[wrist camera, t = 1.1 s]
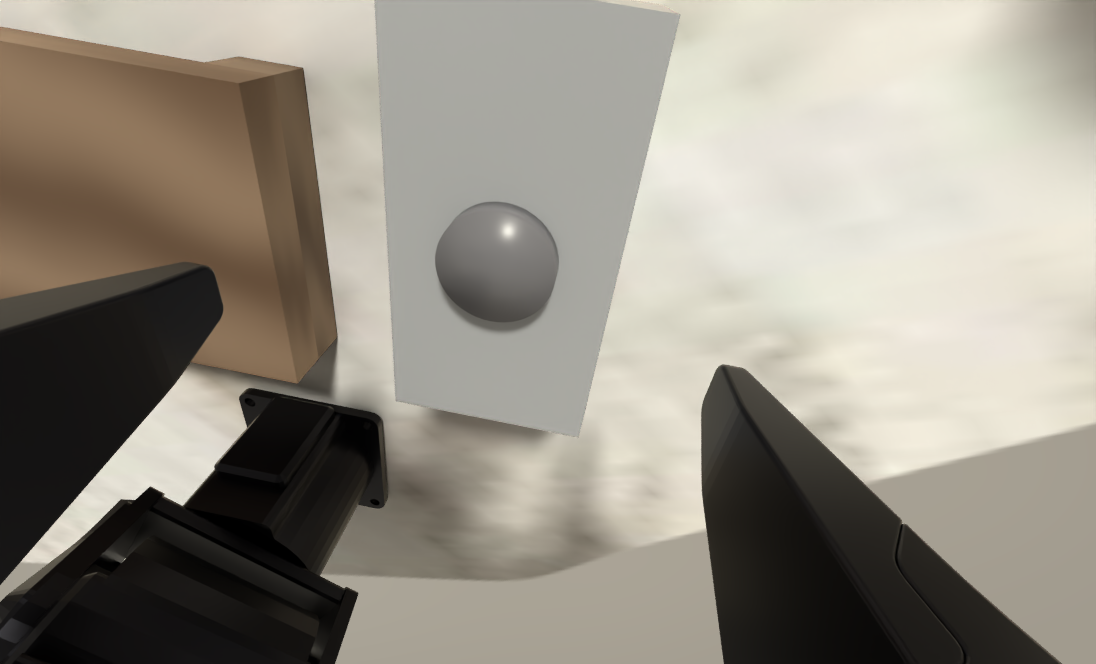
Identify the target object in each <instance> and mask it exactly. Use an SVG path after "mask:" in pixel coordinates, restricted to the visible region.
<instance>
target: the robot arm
mask: <svg viewBox="0 0 1096 664" xmlns="http://www.w3.org/2000/svg"><path fill="white" fill-rule="evenodd" d="M223 307H224V306H223V302H222V298H221V294H220V291H219V287H218V283H217V279H216V276H215V273H214V271H213V270H212V269H211V268H210V267H209V266H207V265H202V264H197V263H192V262H179V263H174V264H169V265H164V266H159V267H154V268H150V269H145V270H140V271H135V272H130V273H125V274H120V275H116V276H111V277H106V278H101V279H96V280H91V281H86V282H81V283H77V284H72V285H67V286H62V287H57V288H52V289H47V290H42V291H38V292H33V293H28V294H23V295H18V296H13V297H8V298H4V299H0V585H1V583H2V582H3V581H4V580H5V579H6V578H7V577H8V575H9V574H10V573H11V572H12V571H13V570H14V569H15V567H16V566H17V565H18V564H19V563H20V562H21V561H22V559H23V558H24V557H25V556H26V555H27V554H28V553H29V551H30V550H31V549H32V548H33V547H34V546H35V545H36V543H37V542H38V541H39V540H40V539H41V538H42V536H43V535H44V534H45V533H46V532H47V531H48V530H49V528H50V527H51V526H52V525H53V524H54V523H55V522H56V520H57V519H58V518H59V517H60V516H61V515H62V514H63V512H64V511H65V510H66V509H67V508H68V507H69V505H70V504H71V503H72V502H73V501H74V500H75V499H76V497H77V496H78V495H79V494H80V493H81V492H82V491H83V489H84V488H85V487H86V486H87V485H88V484H89V483H90V481H91V480H92V479H93V478H94V477H95V476H96V474H97V473H98V472H99V471H100V470H101V469H102V468H103V466H104V465H105V464H106V463H107V462H108V461H109V460H110V458H111V457H112V456H113V455H114V454H115V453H116V452H117V450H118V449H119V448H120V447H121V446H122V445H123V443H124V442H125V441H126V440H127V439H128V438H129V437H130V435H131V434H132V433H133V432H134V431H135V430H136V429H137V427H138V426H139V425H140V424H141V423H142V422H143V421H144V419H145V418H146V417H147V416H148V415H149V414H150V412H151V411H152V410H153V409H154V408H155V407H156V406H157V404H158V403H159V402H160V401H161V400H162V399H163V398H164V396H165V395H166V394H167V393H168V392H169V390H170V389H171V388H172V387H173V386H174V384H175V383H176V382H177V380H178V379H179V378H180V376H181V375H182V374H183V372H184V371H185V369H186V368H187V366H188V365H189V364H190V362H191V361H192V359H193V358H194V357H195V355H196V354H197V352H198V351H199V349H200V348H201V347H202V345H203V344H204V342H205V341H206V339H207V338H208V337H209V335H210V334H211V332H212V331H213V329H214V328H215V327H216V325H217V324H218V322H219V321H220V319H221V317H222V315H223ZM239 401H240V404H241V408H242V411H243V414H244V418H245V421H246V425H247V429H246V430H245V431H244V432H243V433H242V434H241V435H240V437H239V438H238V439H237V440H236V441H235V442H234V443H233V444H232V446H231V447H230V448H229V449H228V450H227V451H226V452H225V454H224V455H223V456H222V457H221V458H220V459H219V460H218V462H217V463H216V464H215V466H214V467H215V470H214V471H213V472H212V473H211V474H210V475H209V476H208V478H207V479H206V480H205V481H204V482H203V483H202V484H201V486H200V487H199V488H198V489H197V490H196V491H195V492H194V494H193V495H192V496H191V497H190V498H189V499H188V500H187V502H186V503H185V504H184V505H183V506H181V505H180V504H178V503H176V502H174V501H172V500H170V499H168V498H166V497H164V495H165V494H164V493H162V492H160V491H158V490H156V489H155V488H153V487H149V488H148V489H147V490H146V491H145V492H144V493H143V494H141V495H140V496H139V497H138V498H137V499H136V500H122V499H121V500H120V501H119V502H118V503H117V504H116V505H115V506H114V507H113V508H112V509H111V510H110V511H109V512H108V513H107V514H106V515H105V516H104V517H103V518H102V519H101V520H100V521H99V522H98V523H97V524H96V525H95V526H94V527H93V528H92V529H91V530H90V531H88V532H87V533H86V534H85V535H84V536H83V537H82V538H81V539H80V540H78V541H77V542H76V543H75V544H73V545H72V546H71V547H70V548H68V549H67V550H66V551H64V552H63V553H62V554H60V555H59V556H58V557H57V558H55V559H54V560H53V561H51V562H50V563H49V564H47V565H46V566H45V567H44V568H42V569H41V570H40V571H38V572H37V573H36V574H34V575H33V576H32V577H30V578H29V579H28V580H26V581H25V582H24V583H22V584H21V585H20V586H19V587H17V588H16V589H15V590H13V591H12V592H11V593H9V594H8V595H7V596H6V597H5V598H4V599H3V600H2V601H1V602H0V664H335V661H336V659H337V656H338V653H339V650H340V647H341V644H342V641H343V638H344V635H345V632H346V629H347V626H348V623H349V620H350V617H351V614H352V611H353V608H354V605H355V602H356V599H357V596H358V592H356V591H354V590H352V589H350V588H348V587H346V588H342V587H340V586H338V585H336V584H334V583H332V582H330V581H328V580H326V579H325V578H322V577H321V576H320V574H321V573H322V571H323V569H324V567H325V565H326V563H327V561H328V559H329V558H330V556H331V554H332V552H333V550H334V548H335V546H336V545H337V543H338V541H339V539H340V537H341V535H342V533H343V531H344V530H345V528H346V526H347V524H348V522H349V520H350V518H351V517H352V515H353V513H354V511H355V509H356V507H357V505H363V506H368V507H372V508H382V507H384V505H385V503H386V501H387V498H388V496H387V483H386V470H385V456H384V443H383V429H382V421H381V418H380V417H379V416H378V415H376V414H375V413H372V412H368V411H363V410H358V409H353V408H348V407H343V406H338V405H333V404H328V403H323V402H318V401H313V400H308V399H303V398H298V397H293V396H288V395H284V394H279V393H274V392H269V391H264V390H259V389H254V388H249V389H246V390H245V391H244V392H243V393H242V394H241V396H240V397H239ZM701 472H702V496H703V506H704V513H705V521H706V529H707V537H708V544H709V551H710V559H711V567H712V575H713V583H714V591H715V597H716V598H715V599H716V606H717V614H718V622H719V629H720V637H721V645H722V652H723V660H724V664H1062V663H1061V662H1059V661H1058V660H1057V659H1056V658H1055V657H1053V656H1052V655H1051V654H1050V653H1049V652H1048V651H1046V650H1045V649H1044V648H1043V647H1042V646H1041V645H1040V644H1038V643H1037V642H1036V641H1035V640H1034V639H1033V638H1031V637H1030V636H1029V635H1028V634H1027V633H1026V632H1024V631H1023V630H1022V629H1021V628H1020V627H1019V626H1017V625H1016V624H1015V623H1014V622H1013V621H1012V620H1010V619H1009V618H1008V617H1007V616H1006V615H1005V614H1003V612H1001V611H1000V610H999V609H998V608H997V607H996V606H994V605H993V604H992V603H991V602H990V601H989V600H988V599H987V598H985V597H984V596H983V595H982V594H981V593H980V592H979V591H977V590H976V589H975V588H974V587H973V586H972V585H971V584H969V583H968V582H967V581H966V580H965V579H964V578H963V577H962V576H961V575H960V574H959V573H957V572H956V571H955V570H954V569H953V568H952V567H951V566H950V565H949V564H948V563H947V562H946V561H945V560H943V559H942V558H941V557H940V556H939V555H938V554H937V553H936V552H935V551H934V550H933V549H932V548H931V547H930V546H929V545H927V543H925V542H924V541H923V540H922V539H921V538H920V537H919V536H918V535H917V534H916V533H915V532H914V531H913V530H912V529H911V528H910V527H909V526H908V525H906V524H902V520H901V519H900V518H899V517H898V516H897V515H896V514H895V513H894V512H893V511H892V510H891V509H890V508H889V507H888V506H887V505H886V504H885V503H884V502H883V501H882V500H881V499H879V497H878V496H877V495H876V494H875V493H873V492H872V491H871V490H870V489H869V488H868V487H867V486H866V485H865V484H864V483H863V482H862V481H861V480H860V479H859V478H858V477H857V476H856V475H855V474H854V473H853V472H852V471H851V470H850V469H849V468H848V467H846V466H845V465H844V464H843V463H842V462H841V461H840V460H839V459H838V458H837V457H836V456H835V455H834V454H833V453H832V452H831V451H830V450H829V449H828V448H827V447H826V446H825V445H824V444H823V443H822V442H821V441H820V440H818V439H817V438H816V437H815V436H814V435H813V434H812V433H811V432H810V431H809V430H808V429H807V428H806V427H805V426H804V425H803V424H802V423H801V422H800V421H799V420H798V419H797V418H796V417H795V416H794V415H793V414H791V413H790V412H789V411H788V410H787V409H786V408H785V407H784V406H783V405H782V404H781V403H780V402H779V401H778V400H777V399H776V398H775V397H774V396H773V395H772V394H771V393H770V392H769V391H768V390H767V389H766V388H765V387H763V386H762V385H761V384H760V383H759V382H758V381H757V380H756V379H755V378H754V377H753V376H752V375H751V374H750V373H749V372H748V371H747V370H746V369H744V368H740V367H735V366H730V365H720V366H719V367H718V368H717V370H716V372H715V374H714V376H713V379H712V381H711V383H710V386H709V388H708V391H707V393H706V395H705V398H704V400H703V404H702V411H701ZM125 558H126V559H125ZM124 559H125V560H124ZM123 560H124V561H123Z"/></svg>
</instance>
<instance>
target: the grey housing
mask: <svg viewBox="0 0 1096 664" xmlns="http://www.w3.org/2000/svg"><path fill="white" fill-rule="evenodd" d="M375 17H376V36H377V55H378V74H379V93H380V112H381V131H382V150H383V169H384V188H385V207H386V226H387V244H388V263H389V282H390V301H391V320H392V339H393V358H394V377H395V396H396V401H398V402H403V403H408V404H413V405H418V406H423V407H428V408H433V409H438V410H443V411H448V412H453V413H458V414H463V415H468V416H473V417H478V418H483V419H488V420H493V421H498V422H503V423H508V424H513V425H518V426H523V427H528V428H533V429H538V430H543V431H548V432H553V433H558V434H563V435H568V436H573V437H578V438H579V434H580V429H581V425H582V421H583V417H584V413H585V409H586V404H587V400H588V396H589V392H590V388H591V384H592V380H593V375H594V371H595V367H596V363H597V359H598V355H599V350H600V346H601V342H602V338H603V334H604V330H605V326H606V321H607V317H608V313H609V309H610V305H611V301H612V297H613V292H614V288H615V284H616V280H617V276H618V272H619V267H620V263H621V259H622V255H623V251H624V247H625V243H626V238H627V234H628V230H629V226H630V222H631V218H632V213H633V209H634V205H635V201H636V197H637V193H638V189H639V184H640V180H641V176H642V172H643V168H644V164H645V159H646V155H647V151H648V147H649V143H650V139H651V135H652V130H653V126H654V122H655V118H656V114H657V110H658V105H659V101H660V97H661V93H662V89H663V85H664V81H665V76H666V72H667V68H668V64H669V60H670V56H671V52H672V47H673V43H674V39H675V35H676V31H677V27H678V22H679V18H680V14H679V13H677V12H675V11H673V10H672V9H670V8H668V7H666V6H664V5H661V4H654V3H648V2H642V1H636V0H375Z"/></svg>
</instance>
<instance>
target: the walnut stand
mask: <svg viewBox="0 0 1096 664" xmlns="http://www.w3.org/2000/svg"><path fill="white" fill-rule="evenodd" d="M179 262H192V263H197V264H202V265H207V266H209V267H210V268H211V269H212V270H213V271H214V273H215V276H216V279H217V283H218V287H219V291H220V294H221V298H222V302H223V306H224V307H223V315H222V317H221V319H220V321H219V322H218V324H217V325H216V327H215V328H214V329H213V331H212V332H211V334H210V335H209V337H208V338H207V339H206V341H205V342H204V344H203V345H202V347H201V348H200V349H199V351H198V352H197V354H196V355H195V357H194V358H193V359H192V361H191V362H192V363H197V364H202V365H207V366H212V367H217V368H222V369H227V370H232V371H237V372H242V373H247V374H252V375H257V376H262V377H267V378H272V379H277V380H282V381H287V382H292V383H297V384H298V383H299V381H300V380H301V379H302V378H303V377H304V376H305V374H306V373H307V372H308V371H309V370H310V368H311V367H312V366H313V365H314V364H315V363H316V361H317V360H318V359H319V358H320V357H321V356H322V354H323V353H324V352H325V351H326V350H327V349H328V347H329V346H330V345H331V344H332V343H333V342H334V340H335V339H336V338H337V331H336V323H335V315H334V308H333V300H332V292H331V284H330V276H329V269H328V261H327V253H326V245H325V237H324V230H323V222H322V214H321V206H320V198H319V190H318V183H317V175H316V167H315V159H314V151H313V144H312V136H311V128H310V120H309V112H308V105H307V97H306V89H305V81H304V73H303V68H300V67H295V66H289V65H283V64H278V63H272V62H266V61H260V60H255V59H249V58H243V57H234V58H228V59H222V60H217V61H211V62H205V63H203V62H198V61H192V60H186V59H181V58H175V57H169V56H164V55H158V54H152V53H147V52H141V51H135V50H130V49H124V48H118V47H113V46H107V45H101V44H96V43H90V42H84V41H79V40H73V39H67V38H62V37H56V36H50V35H45V34H39V33H33V32H27V31H22V30H16V29H10V28H5V27H0V299H4V298H8V297H13V296H18V295H23V294H28V293H33V292H38V291H42V290H47V289H52V288H57V287H62V286H67V285H72V284H77V283H81V282H86V281H91V280H96V279H101V278H106V277H111V276H116V275H120V274H125V273H130V272H135V271H140V270H145V269H150V268H154V267H159V266H164V265H169V264H174V263H179Z"/></svg>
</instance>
